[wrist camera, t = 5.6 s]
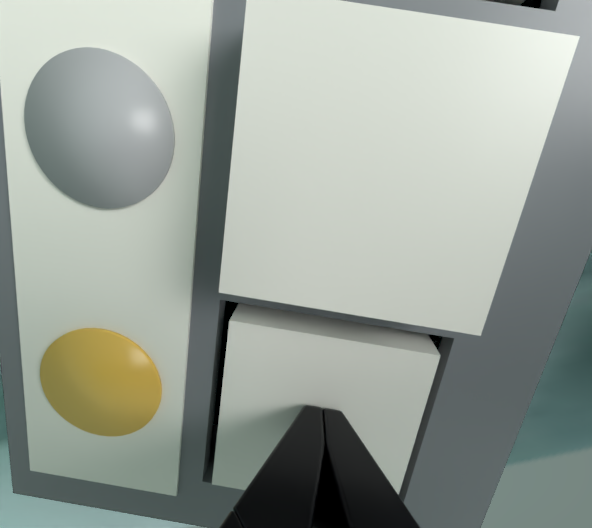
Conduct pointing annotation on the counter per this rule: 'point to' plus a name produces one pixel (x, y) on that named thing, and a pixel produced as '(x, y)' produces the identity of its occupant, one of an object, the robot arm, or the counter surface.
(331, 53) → the button
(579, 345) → the counter surface
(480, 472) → the board
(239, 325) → the button
